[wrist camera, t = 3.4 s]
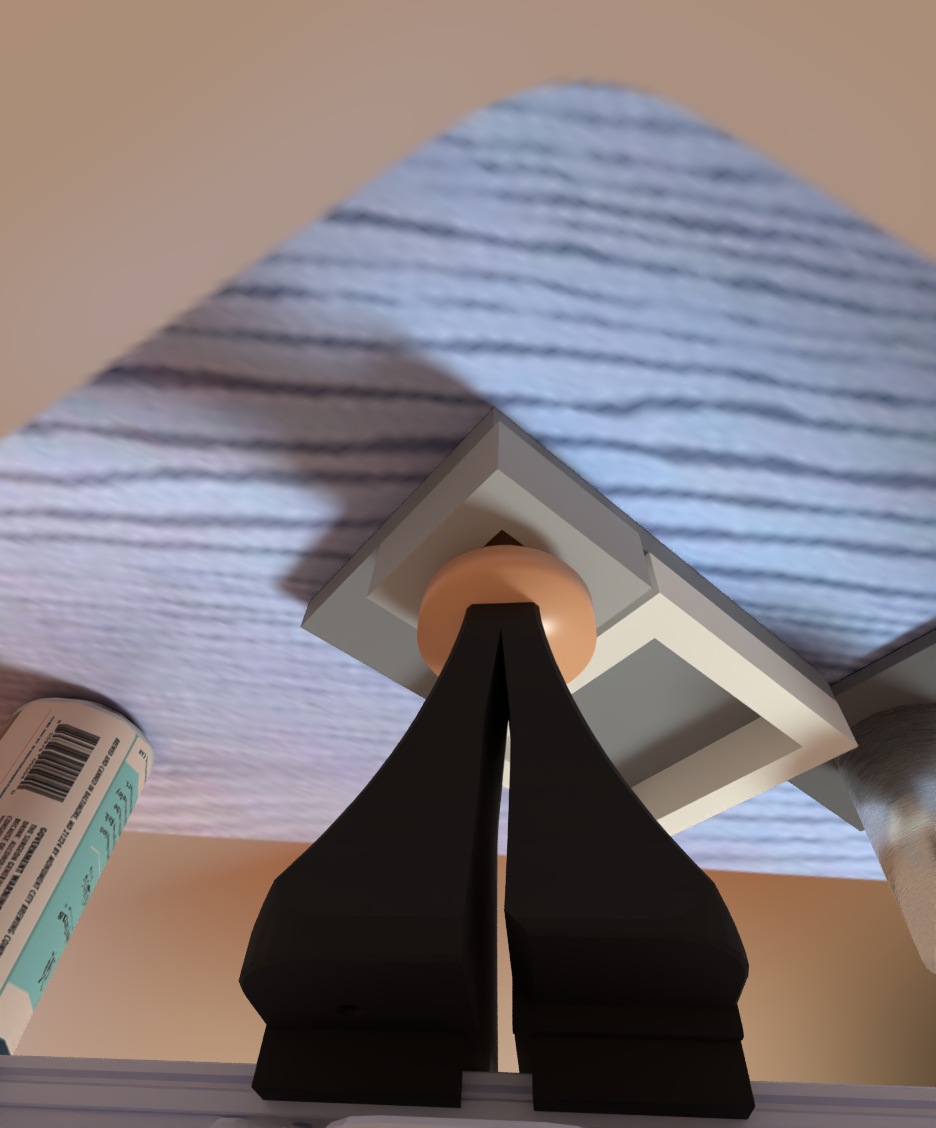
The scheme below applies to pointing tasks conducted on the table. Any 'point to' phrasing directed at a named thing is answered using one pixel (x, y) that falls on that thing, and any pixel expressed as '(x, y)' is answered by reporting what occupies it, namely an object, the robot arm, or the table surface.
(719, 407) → the table surface
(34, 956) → the beer can
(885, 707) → the mat
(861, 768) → the billet
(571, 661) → the button
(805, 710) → the station
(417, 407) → the table surface
